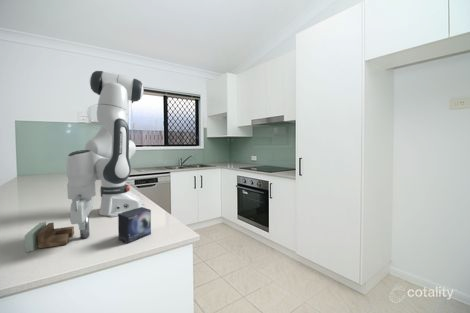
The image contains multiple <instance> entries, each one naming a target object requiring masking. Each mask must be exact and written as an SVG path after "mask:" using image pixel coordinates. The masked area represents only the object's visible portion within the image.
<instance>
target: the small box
mask: <svg viewBox="0 0 470 313" xmlns="http://www.w3.org/2000/svg"><path fill="white" fill-rule="evenodd" d="M151 211H152V209H150V208H149V209H148V208H146V207H145V208H143V207H140V208H136V209H133V210H129V211H126V212H122V213H118V216H117V217H118V218H117V222H118V223H117V224H118V227H117V228H118V229H117V230H118V232H117V233H118V238H117V240H119V241H121V242H123V243H125V244H130V243H133V242H134V241H137V240H140V239H142V238H145V237H148V236H150V235H152V223H151V222H152V216H151V215H152V212H151Z"/></svg>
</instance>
